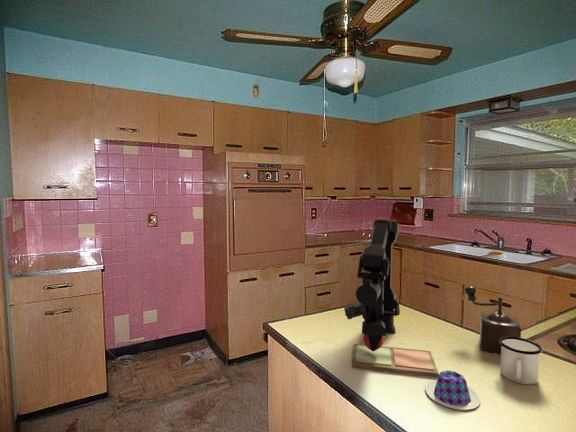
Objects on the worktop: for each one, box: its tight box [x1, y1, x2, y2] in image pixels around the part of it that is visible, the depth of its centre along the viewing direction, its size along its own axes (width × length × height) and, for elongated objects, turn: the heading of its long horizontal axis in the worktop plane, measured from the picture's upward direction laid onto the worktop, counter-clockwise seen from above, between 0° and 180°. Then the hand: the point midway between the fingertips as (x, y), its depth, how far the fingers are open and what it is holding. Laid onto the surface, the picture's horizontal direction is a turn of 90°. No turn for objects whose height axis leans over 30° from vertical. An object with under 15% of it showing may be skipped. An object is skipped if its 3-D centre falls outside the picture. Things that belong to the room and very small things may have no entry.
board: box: [351, 343, 440, 379], centre depth 97 cm, size 13×23×2 cm, turn 76°
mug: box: [499, 336, 543, 385], centre depth 87 cm, size 12×10×9 cm
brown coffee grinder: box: [463, 285, 522, 356], centre depth 106 cm, size 16×11×18 cm
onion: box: [362, 334, 384, 351], centre depth 98 cm, size 6×6×8 cm
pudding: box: [425, 370, 481, 411], centre depth 81 cm, size 12×12×5 cm
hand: (373, 345), depth 99 cm, fingers closed on onion, 6 cm apart
